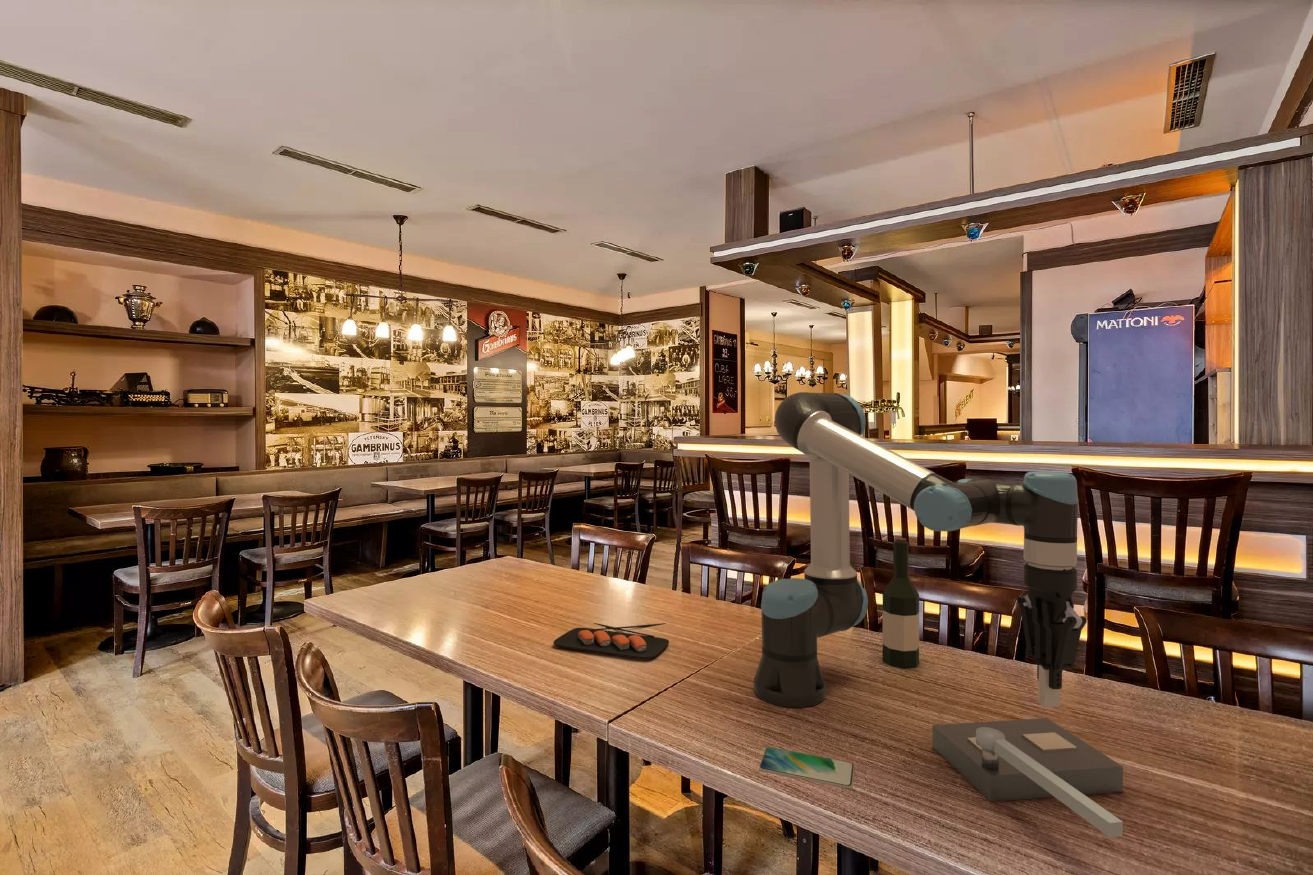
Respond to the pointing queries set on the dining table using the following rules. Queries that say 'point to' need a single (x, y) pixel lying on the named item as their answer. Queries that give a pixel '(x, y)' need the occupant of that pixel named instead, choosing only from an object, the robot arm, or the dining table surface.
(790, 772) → the smartphone
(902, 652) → the wine bottle
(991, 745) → the lever
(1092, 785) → the grey base block
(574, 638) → the sushi plate
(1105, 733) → the dining table surface
